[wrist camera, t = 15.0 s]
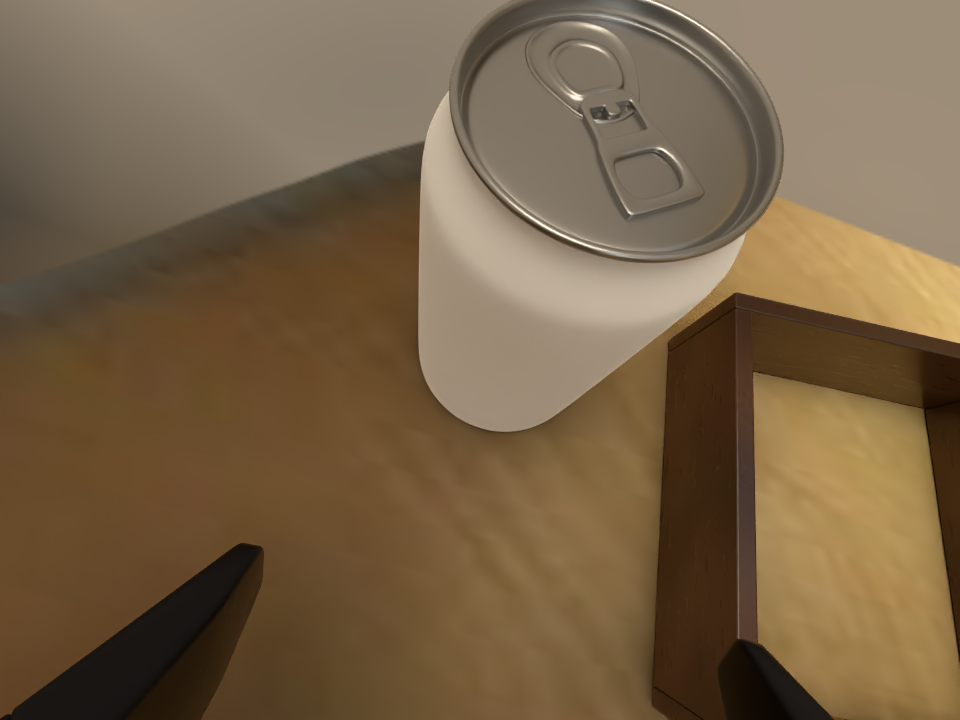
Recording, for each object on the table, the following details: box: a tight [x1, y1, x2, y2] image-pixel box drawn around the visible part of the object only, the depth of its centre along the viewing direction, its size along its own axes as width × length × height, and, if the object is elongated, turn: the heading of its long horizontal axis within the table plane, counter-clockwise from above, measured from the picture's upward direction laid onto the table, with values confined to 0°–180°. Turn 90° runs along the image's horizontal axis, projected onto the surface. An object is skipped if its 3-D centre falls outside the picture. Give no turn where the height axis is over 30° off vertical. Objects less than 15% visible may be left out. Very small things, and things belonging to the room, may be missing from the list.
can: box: [418, 0, 784, 432], centre depth 13 cm, size 6×6×12 cm
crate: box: [652, 293, 960, 720], centre depth 16 cm, size 13×12×4 cm
